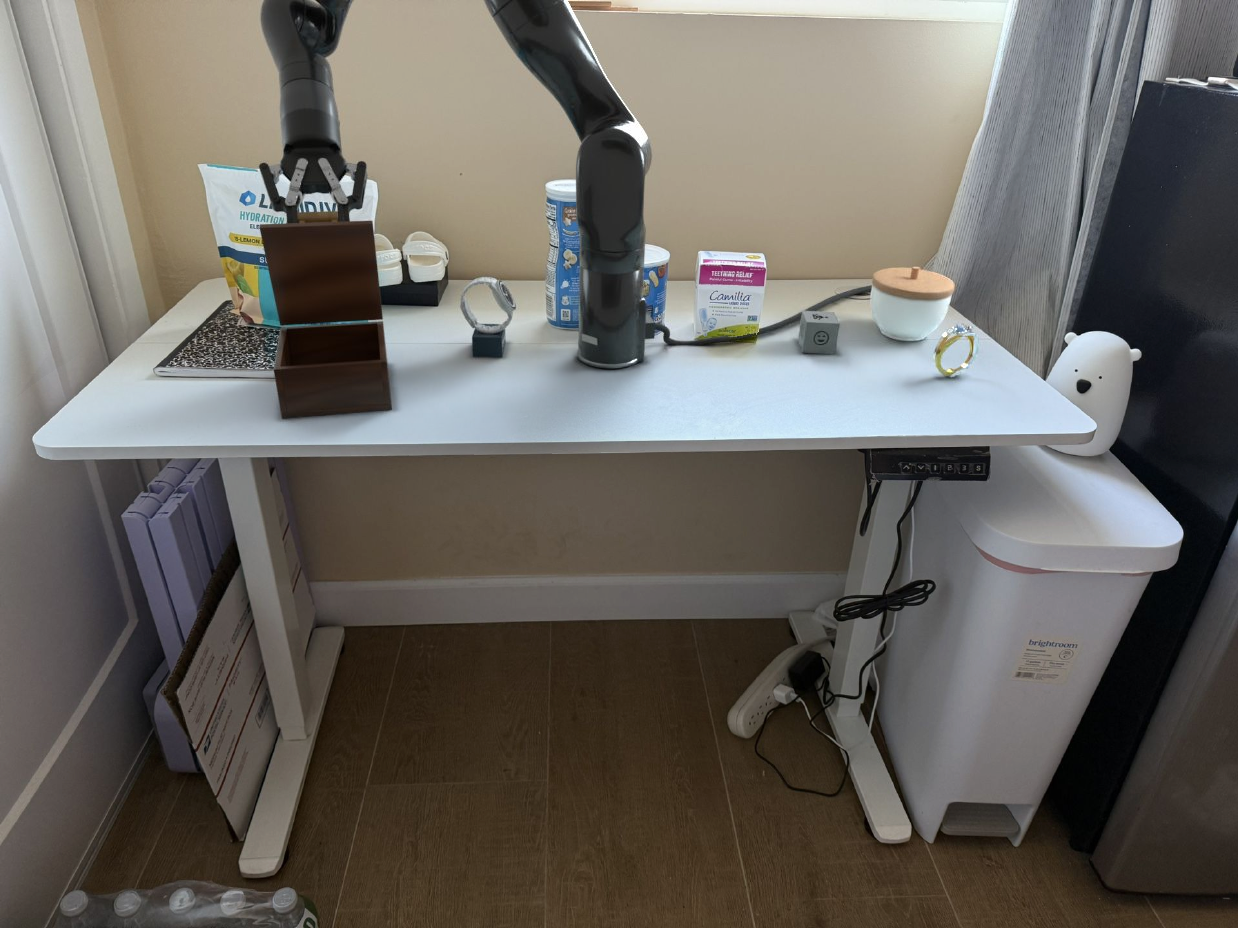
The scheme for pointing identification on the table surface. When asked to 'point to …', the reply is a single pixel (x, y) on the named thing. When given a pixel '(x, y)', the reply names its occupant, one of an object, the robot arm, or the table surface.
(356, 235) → the lid
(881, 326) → the lidded bowl
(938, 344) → the ring
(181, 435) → the table surface
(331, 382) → the case
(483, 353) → the watch
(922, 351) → the table surface
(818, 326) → the dice cube
